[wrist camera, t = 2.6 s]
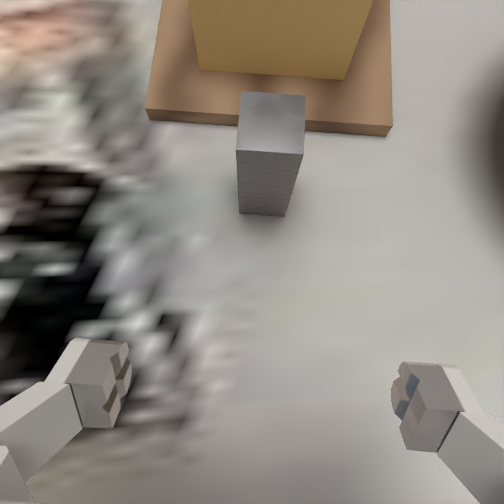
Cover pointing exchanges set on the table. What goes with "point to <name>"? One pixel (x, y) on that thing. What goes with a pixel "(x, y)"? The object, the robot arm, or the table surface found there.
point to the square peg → (268, 150)
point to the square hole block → (278, 35)
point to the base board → (272, 80)
